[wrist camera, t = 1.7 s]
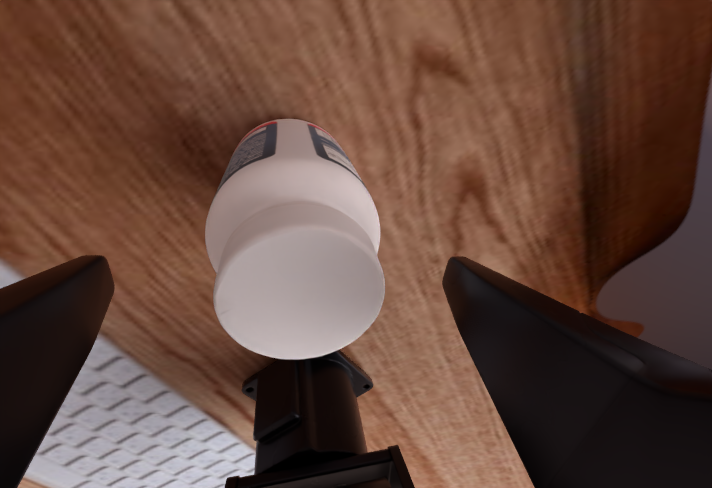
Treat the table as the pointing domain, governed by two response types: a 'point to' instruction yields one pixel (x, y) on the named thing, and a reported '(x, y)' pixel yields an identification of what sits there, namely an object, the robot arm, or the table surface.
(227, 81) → the table surface
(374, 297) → the pill bottle
